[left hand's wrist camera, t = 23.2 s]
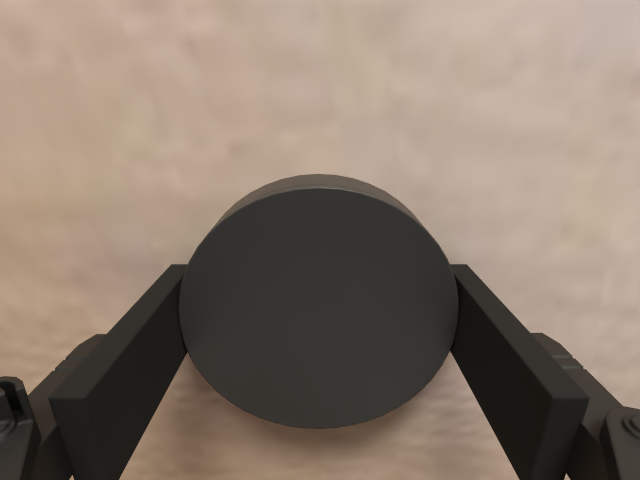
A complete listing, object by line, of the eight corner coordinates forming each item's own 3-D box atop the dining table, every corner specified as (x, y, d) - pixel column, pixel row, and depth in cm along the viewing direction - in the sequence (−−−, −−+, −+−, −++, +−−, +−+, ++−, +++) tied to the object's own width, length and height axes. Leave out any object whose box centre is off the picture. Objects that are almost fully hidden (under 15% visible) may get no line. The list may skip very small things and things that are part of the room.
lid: (343, 115, 12) (347, 118, 10) (484, 311, 14) (509, 343, 13) (145, 276, 14) (118, 304, 12) (301, 422, 16) (299, 465, 15)
